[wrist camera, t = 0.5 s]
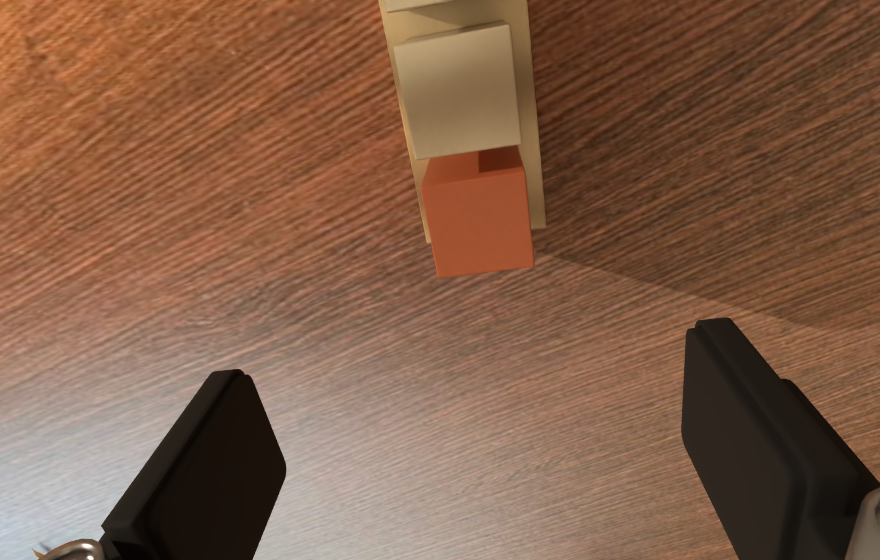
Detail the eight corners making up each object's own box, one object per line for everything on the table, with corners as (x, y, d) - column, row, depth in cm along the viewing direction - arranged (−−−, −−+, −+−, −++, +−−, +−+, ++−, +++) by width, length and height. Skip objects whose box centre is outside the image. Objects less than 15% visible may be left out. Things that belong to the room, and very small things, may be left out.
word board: (358, -113, 21) (320, -149, 16) (513, -149, 20) (525, -198, 15) (427, 239, 27) (416, 292, 22) (545, 223, 26) (560, 274, 22)
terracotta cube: (430, 153, 25) (420, 187, 20) (516, 140, 24) (525, 171, 20) (444, 232, 26) (438, 279, 22) (525, 221, 26) (534, 267, 21)
